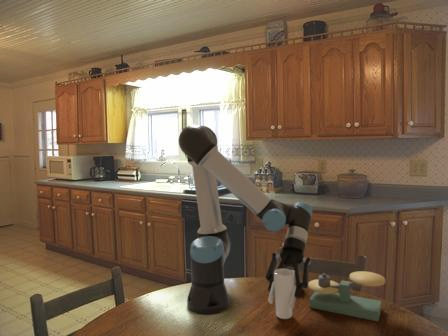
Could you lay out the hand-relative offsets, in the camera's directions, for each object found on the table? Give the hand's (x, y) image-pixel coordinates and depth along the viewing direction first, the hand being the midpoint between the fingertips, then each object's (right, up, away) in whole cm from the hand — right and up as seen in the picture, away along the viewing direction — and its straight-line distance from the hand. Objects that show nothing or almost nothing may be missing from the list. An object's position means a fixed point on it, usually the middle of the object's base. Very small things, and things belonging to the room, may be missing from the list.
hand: (280, 304), depth 114 cm
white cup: (+2, -5, +3) cm, 7 cm away
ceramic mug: (+8, -4, +27) cm, 28 cm away
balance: (+23, -4, +8) cm, 25 cm away
